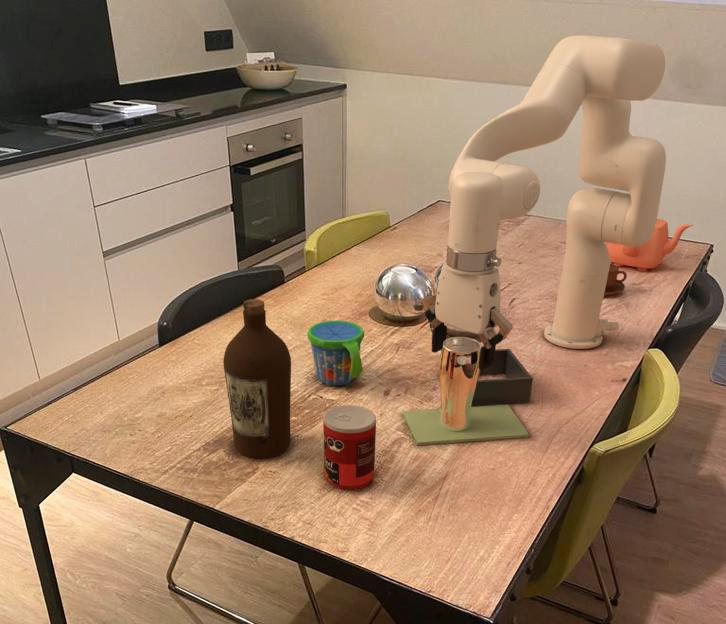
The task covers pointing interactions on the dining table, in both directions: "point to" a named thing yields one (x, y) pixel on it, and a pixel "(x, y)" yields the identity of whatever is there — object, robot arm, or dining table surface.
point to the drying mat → (484, 427)
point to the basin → (504, 382)
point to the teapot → (647, 248)
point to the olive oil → (258, 386)
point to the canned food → (349, 446)
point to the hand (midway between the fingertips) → (461, 358)
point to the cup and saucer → (614, 281)
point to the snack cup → (336, 351)
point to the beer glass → (458, 382)
